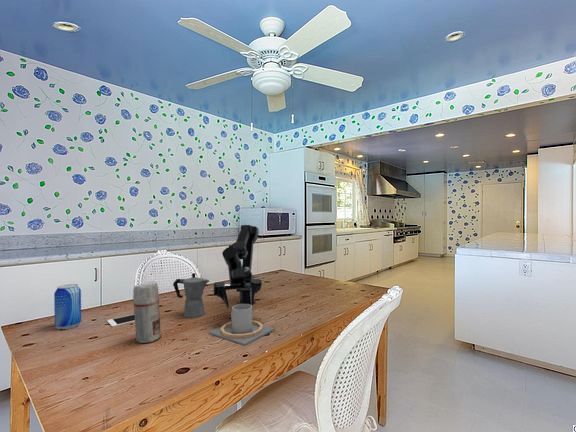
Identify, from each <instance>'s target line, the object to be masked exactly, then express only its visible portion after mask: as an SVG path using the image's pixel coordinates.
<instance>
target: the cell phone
mask: <svg viewBox="0 0 576 432" xmlns="http://www.w3.org/2000/svg"><path fill="white" fill-rule="evenodd" d="M106 322H107V324H108V323H109V324H110V325H111V326H112V327H111V326H110V325H109V324H108V325H109V326H110V327H111V328H115V327H114V326H116V327H119V326H118V325H120V326H123V325H129V324H133V323H135V314H134V313H133V314H129V315H124V316H120V317H115V318H111V319H108V320H107V321H106ZM128 323H129V324H128Z"/></svg>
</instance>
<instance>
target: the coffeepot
mask: <svg viewBox="0 0 576 432" xmlns="http://www.w3.org/2000/svg"><path fill="white" fill-rule="evenodd" d="M208 283H210V280H209V279H208V278H207V279H205V278H203V277H196V273H195V272H194V273H191V277H189V278H176V279H175V281H173V282H172V286H173V288H174V290H175V293H176V296H177V298H179V299H182V298H183V297H184V295H185V301H184V308H183V316H184V318H186V319H187V318H188V319H193V318H194V319H195V318H199V317H202V316H204V315H205V314H206V313H205V306H204V301H203V294H204V289H205V288H206V286H207V284H208ZM179 284H181V285H182V284H183V289H184V295H181V290H179Z"/></svg>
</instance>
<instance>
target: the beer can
mask: <svg viewBox="0 0 576 432" xmlns="http://www.w3.org/2000/svg"><path fill="white" fill-rule="evenodd" d="M54 291H55V292H54V295H53V297H54V298H53V299H54V302H53V304H54V309H53V311H54V327H56V330H59V329H65V330H70V329H69V328H71V329H73V328H72V327H74V328H77V327H78V326H80V323H81V322H82V289H81V288H80V287H79V284H77V283H68V284H62V285H58V286H57V287H56V290H54ZM76 326H77V327H76Z"/></svg>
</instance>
